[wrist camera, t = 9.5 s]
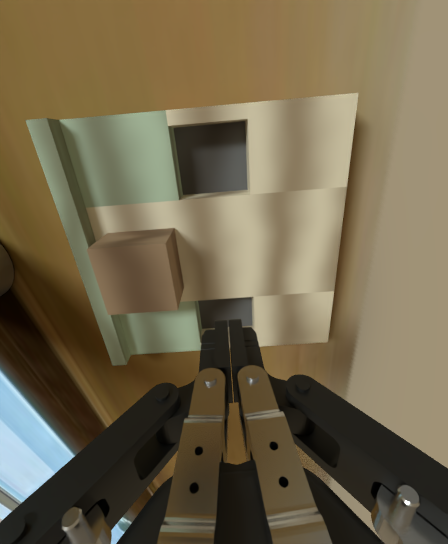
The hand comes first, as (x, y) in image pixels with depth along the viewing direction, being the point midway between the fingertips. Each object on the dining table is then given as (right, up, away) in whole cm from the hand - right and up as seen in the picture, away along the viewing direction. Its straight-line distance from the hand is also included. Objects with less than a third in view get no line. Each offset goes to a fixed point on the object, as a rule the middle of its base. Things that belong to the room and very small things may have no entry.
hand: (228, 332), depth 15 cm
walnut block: (-7, +4, +10) cm, 13 cm away
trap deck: (-1, +6, +12) cm, 14 cm away
